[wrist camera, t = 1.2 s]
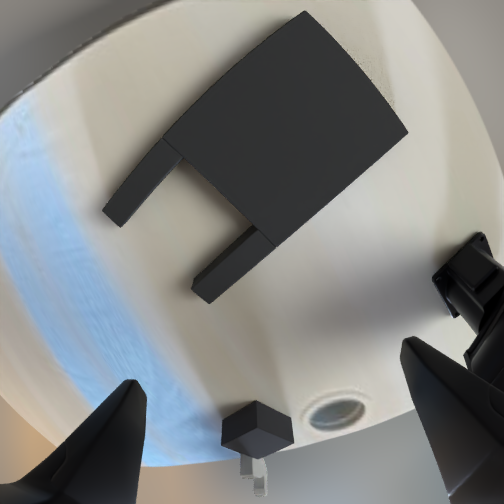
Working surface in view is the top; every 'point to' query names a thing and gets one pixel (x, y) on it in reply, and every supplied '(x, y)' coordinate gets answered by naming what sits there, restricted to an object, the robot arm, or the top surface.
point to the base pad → (272, 142)
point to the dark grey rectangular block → (257, 431)
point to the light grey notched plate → (254, 473)
